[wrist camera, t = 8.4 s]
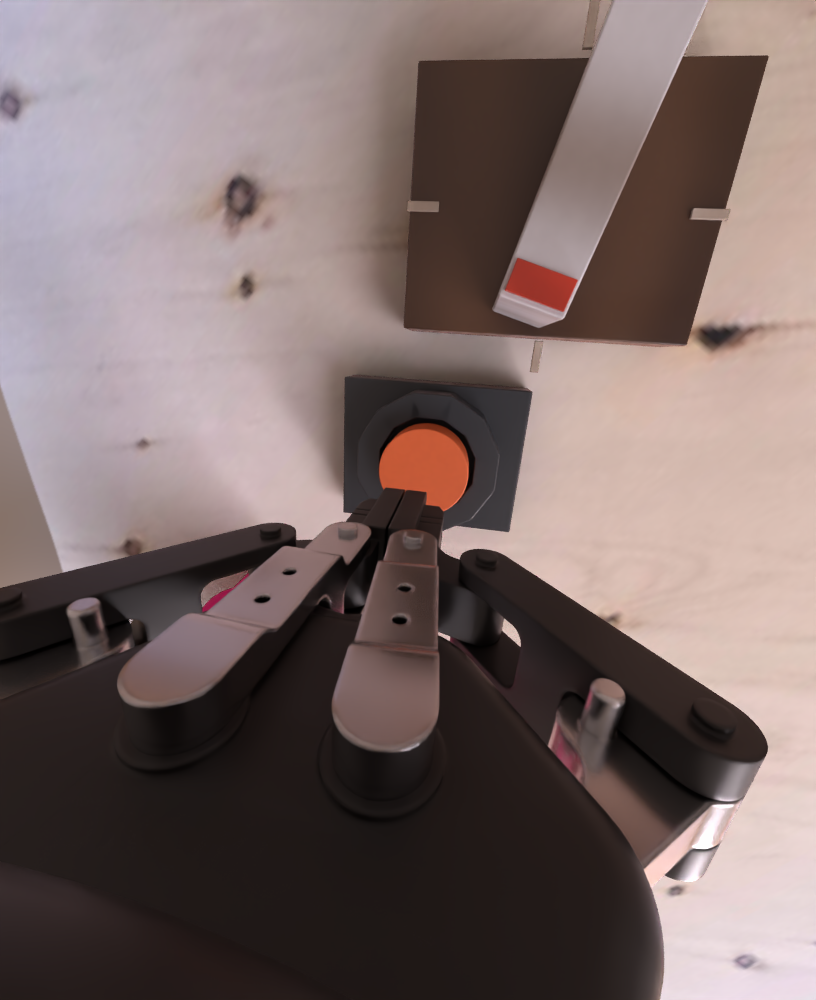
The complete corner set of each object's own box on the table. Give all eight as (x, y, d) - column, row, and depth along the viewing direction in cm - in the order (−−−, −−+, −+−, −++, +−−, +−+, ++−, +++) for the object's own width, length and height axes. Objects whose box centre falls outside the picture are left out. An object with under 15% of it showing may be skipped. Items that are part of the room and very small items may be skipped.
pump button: (473, 426, 20) (473, 433, 19) (463, 508, 22) (462, 520, 20) (387, 418, 21) (380, 424, 19) (383, 498, 23) (376, 510, 21)
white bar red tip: (585, 67, 16) (642, -78, 10) (644, 88, 16) (731, -47, 10) (491, 310, 19) (498, 294, 14) (539, 328, 19) (565, 319, 14)
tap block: (739, 52, 17) (793, -10, 14) (652, 378, 22) (680, 383, 19) (426, 57, 19) (418, 2, 16) (408, 361, 23) (398, 362, 20)
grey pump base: (528, 388, 23) (538, 395, 19) (506, 519, 26) (512, 547, 22) (354, 374, 24) (332, 378, 20) (352, 501, 27) (332, 525, 23)
